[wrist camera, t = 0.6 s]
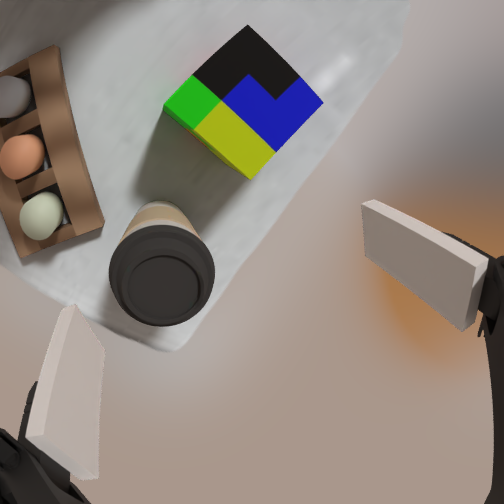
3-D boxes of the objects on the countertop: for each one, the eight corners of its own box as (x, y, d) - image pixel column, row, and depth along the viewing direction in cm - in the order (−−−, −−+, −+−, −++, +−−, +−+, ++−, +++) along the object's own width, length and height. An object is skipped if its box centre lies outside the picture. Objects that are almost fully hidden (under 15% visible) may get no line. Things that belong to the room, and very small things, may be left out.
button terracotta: (8, 143, 25) (-5, 146, 22) (39, 127, 26) (28, 128, 23) (18, 179, 27) (6, 185, 24) (49, 165, 28) (39, 169, 25)
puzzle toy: (283, 105, 35) (323, 102, 26) (226, 165, 36) (250, 180, 27) (224, 48, 30) (247, 24, 21) (162, 109, 31) (163, 104, 22)
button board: (-22, 92, 22) (-30, 91, 20) (59, 48, 24) (54, 44, 22) (25, 252, 32) (20, 258, 30) (105, 221, 34) (102, 226, 32)
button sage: (25, 199, 28) (13, 207, 25) (56, 185, 29) (46, 192, 26) (38, 234, 30) (29, 245, 27) (69, 222, 31) (61, 232, 28)
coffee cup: (121, 261, 37) (107, 336, 23) (124, 188, 33) (104, 231, 20) (192, 265, 40) (213, 338, 26) (201, 194, 36) (228, 240, 23)
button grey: (-4, 89, 22) (-17, 87, 19) (28, 72, 23) (16, 68, 20) (3, 124, 24) (-10, 125, 21) (34, 107, 25) (23, 106, 22)
